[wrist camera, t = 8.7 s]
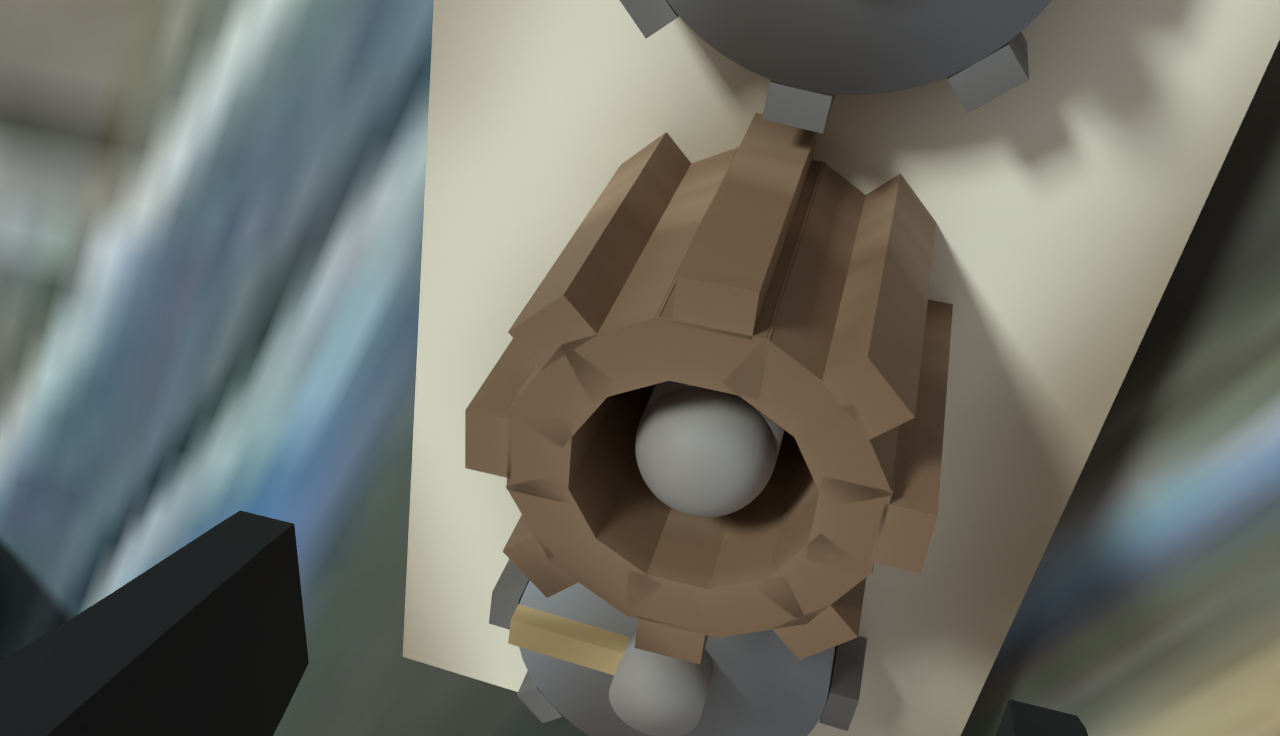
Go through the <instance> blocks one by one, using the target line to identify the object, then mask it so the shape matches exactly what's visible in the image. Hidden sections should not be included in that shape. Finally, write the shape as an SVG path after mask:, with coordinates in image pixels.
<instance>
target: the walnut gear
mask: <svg viewBox="0 0 1280 736" xmlns="http://www.w3.org/2000/svg"><path fill="white" fill-rule="evenodd" d="M762 116H763V114H760V113H755V115H754V117H753V119H752V121H751V123H750V125H749V127H748V130H747V132H746V134H745V136H744V138H743V140H742V142H741V144H740V146H739V147H737V148H735V149H732V150H729V151H726V152H723V153H720V154H717V155H714V156H711V157H708V158H705V159H703V160H700V161H697V162H694V163H691V162H690V161H689V160H688V158H687V157H686V156H685V155H684V153H683V152H682V151H681V150H680V148H679V147H678V146H677V145H676V143H675V142H674V141H673V139H672V138H671V137H670V136H669V134H668V133H667V132H665V133H664V134H663V135H661V136H660V137H658V138H657V139H656V140H654V141H653V142H652V143H650V144H649V145H647V146H646V147H645V148H643V149H642V150H640V151H639V152H638V153H636V154H635V155H633V156H632V157H631V158H629V159H628V160H626V161H625V162H624V163H622V164H621V165H620V167H619V168H618V170H617V171H616V173H615V174H614V176H613V177H612V178H611V180H610V181H609V183H608V184H607V186H606V187H605V189H604V190H603V192H602V193H601V195H600V196H599V198H598V199H597V201H596V202H595V204H594V205H593V207H592V208H591V210H590V211H589V213H588V214H587V215H586V217H585V218H584V220H583V221H582V223H581V224H580V226H579V227H578V229H577V230H576V232H575V233H574V235H573V236H572V238H571V239H570V241H569V242H568V244H567V245H566V247H565V248H564V250H563V251H562V253H561V254H560V255H559V257H558V258H557V260H556V261H555V263H554V264H553V266H552V267H551V269H550V270H549V272H548V273H547V275H546V276H545V278H544V279H543V281H542V282H541V284H540V285H539V287H538V288H537V290H536V291H535V293H534V294H533V295H532V297H531V298H530V300H529V301H528V303H527V304H526V306H525V307H524V309H523V310H522V312H521V313H520V315H519V316H518V318H517V319H516V321H515V322H514V324H513V325H512V327H511V328H510V330H509V331H508V333H509V334H510V335H511V336H512V337H513V339H512V341H511V342H510V344H509V345H508V347H507V348H506V350H505V351H504V353H503V354H502V356H501V357H500V359H499V360H498V362H497V363H496V365H495V366H494V368H493V369H492V371H491V372H490V374H489V375H488V377H487V378H486V380H485V381H484V383H483V384H482V386H481V387H480V389H479V390H478V392H477V393H476V395H475V396H474V398H473V399H472V401H471V402H470V404H469V405H468V407H467V408H466V410H465V468H467V469H471V470H475V471H480V472H484V473H488V474H493V475H497V476H501V477H506V478H507V485H506V490H508V491H509V493H510V495H511V497H512V498H513V500H514V502H515V503H516V505H517V507H518V508H519V510H520V512H521V514H522V515H521V517H520V519H519V521H518V523H517V525H516V526H515V528H514V530H513V532H512V534H511V536H510V538H509V540H508V542H507V544H506V546H505V547H504V549H503V551H502V552H503V553H504V554H505V555H506V556H507V557H508V558H509V559H510V560H511V561H512V562H513V563H514V564H515V565H516V566H517V567H518V568H519V569H520V570H521V571H522V572H523V573H524V575H525V576H526V577H527V578H528V579H529V580H530V581H531V582H532V583H533V584H534V585H535V586H536V587H537V588H538V589H539V590H540V591H541V592H542V593H543V594H544V595H545V597H546V598H548V597H550V596H552V595H554V594H556V593H558V592H560V591H562V590H564V589H566V588H568V587H570V586H573V585H575V584H577V583H580V584H582V585H583V586H584V587H586V588H587V589H589V590H590V591H592V592H593V593H594V594H596V595H597V596H599V597H600V598H601V599H603V600H604V601H606V602H607V603H609V604H610V605H611V606H613V607H614V608H616V609H617V610H618V611H620V612H621V613H623V614H624V615H625V616H629V617H633V618H638V622H637V631H636V640H635V648H637V649H641V650H645V651H649V652H653V653H657V654H661V655H665V656H669V657H673V658H677V659H681V660H685V661H689V662H693V663H697V664H701V660H702V657H703V653H704V650H705V646H706V643H707V639H708V636H711V637H715V638H722V637H728V636H734V635H740V634H747V633H753V632H759V631H766V630H773V631H774V632H775V633H776V634H777V636H778V637H779V638H780V639H781V640H782V641H783V642H784V643H785V645H786V646H787V647H788V648H789V649H790V650H791V651H792V652H793V654H794V655H795V656H796V657H797V658H798V659H799V660H801V659H804V658H807V657H809V656H812V655H814V654H817V653H819V652H822V651H824V650H827V649H829V648H832V647H834V646H837V645H840V644H842V643H845V642H847V641H850V640H852V639H855V638H857V637H858V633H859V626H860V619H861V612H862V605H863V598H864V591H865V584H866V577H867V576H868V575H870V574H872V572H873V568H874V563H878V564H883V565H887V566H891V567H896V568H900V569H904V570H909V571H913V572H917V573H921V571H922V568H923V564H924V561H925V557H926V554H927V550H928V547H929V544H930V540H931V537H932V533H933V530H934V526H935V523H936V519H937V516H938V503H939V490H940V476H941V462H942V448H943V435H944V421H945V407H946V394H947V380H948V366H949V352H950V339H951V325H952V311H953V304H948V303H943V302H938V301H933V300H928V294H929V284H930V275H931V266H932V257H933V248H934V239H935V229H936V221H935V220H934V219H933V217H932V216H931V214H930V213H929V212H928V210H927V209H926V208H925V206H924V205H923V203H922V202H921V201H920V199H919V198H918V197H917V195H916V194H915V192H914V191H913V190H912V188H911V187H910V186H909V184H908V183H907V181H906V180H905V179H904V177H903V176H902V175H901V173H900V174H899V175H897V176H896V177H894V178H892V179H891V180H889V181H887V182H886V183H884V184H883V185H881V186H879V187H878V188H876V189H874V190H873V191H871V192H870V193H868V194H866V195H865V194H864V193H862V192H861V191H860V190H859V189H857V188H856V187H855V186H854V185H852V184H851V183H850V182H849V181H847V180H846V179H845V178H844V177H842V176H841V175H840V174H838V173H837V172H836V171H835V170H833V169H832V168H831V167H830V166H828V165H827V164H826V162H823V161H822V162H821V161H815V160H813V154H814V148H815V143H816V137H817V132H814V131H809V130H805V129H801V128H797V127H793V126H788V125H784V124H780V123H776V122H771V121H767V120H763V119H762ZM666 381H673V382H678V383H683V384H688V385H692V386H697V387H702V388H706V389H711V390H716V391H721V392H725V393H730V394H735V395H739V396H740V397H741V398H743V399H744V400H745V401H747V402H748V403H749V404H751V405H752V406H754V407H755V408H756V409H758V410H759V411H760V412H762V413H763V414H764V415H766V416H767V417H768V418H770V419H771V420H772V421H774V422H775V423H776V424H778V425H779V426H780V427H782V428H783V429H784V434H783V438H782V442H781V445H780V449H779V453H778V457H777V460H776V464H775V467H774V470H773V473H772V475H771V478H770V479H769V481H768V483H767V485H766V486H765V488H764V489H763V490H762V492H761V493H760V494H759V495H758V496H757V497H756V498H755V499H754V500H753V501H752V502H751V503H749V504H748V505H746V506H745V507H743V508H741V509H739V510H737V511H735V512H733V513H730V514H727V515H723V516H719V517H710V518H704V517H694V516H690V515H686V514H683V513H680V512H678V511H676V510H674V509H672V508H670V507H669V506H667V505H666V504H664V503H663V502H661V501H660V500H659V499H658V498H657V497H656V496H655V495H654V494H653V493H652V491H651V490H650V489H649V487H648V486H647V485H646V483H645V481H644V479H643V478H642V475H641V473H640V470H639V467H638V464H637V459H636V452H635V442H636V432H637V429H638V425H639V422H640V419H641V417H642V415H643V412H644V410H645V408H646V406H647V403H648V401H649V399H650V397H651V394H652V392H653V390H654V387H655V385H656V384H658V383H662V382H666Z"/></svg>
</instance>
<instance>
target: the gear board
mask: <svg viewBox="0 0 1280 736" xmlns="http://www.w3.org/2000/svg"><path fill="white" fill-rule="evenodd" d="M1279 40H1280V0H434V11H433V32H432V53H431V74H430V95H429V116H428V137H427V158H426V179H425V200H424V221H423V242H422V263H421V284H420V305H419V326H418V347H417V368H416V389H415V410H414V431H413V452H412V473H411V494H410V515H409V536H408V557H407V578H406V599H405V620H404V641H403V657H406V658H409V659H412V660H416V661H419V662H422V663H425V664H429V665H432V666H435V667H438V668H442V669H445V670H448V671H451V672H455V673H458V674H461V675H464V676H468V677H471V678H474V679H477V680H481V681H484V682H487V683H490V684H494V685H497V686H500V687H504V688H507V689H510V690H513V691H517V692H518V693H517V696H518V697H519V698H520V699H521V700H522V701H523V702H524V703H525V705H526V706H527V707H528V708H529V709H530V710H531V711H532V712H533V713H534V714H535V716H536V717H537V718H538V719H539V720H540V721H541V722H542V723H545V722H548V721H551V720H554V719H557V718H560V717H562V716H564V717H565V718H566V719H567V720H569V721H570V722H571V723H572V724H573V725H575V726H576V727H577V728H579V729H580V730H582V731H583V732H585V733H586V734H588V735H589V736H961V734H962V731H963V729H964V727H965V725H966V723H967V720H968V718H969V716H970V714H971V712H972V710H973V707H974V705H975V703H976V701H977V699H978V696H979V694H980V692H981V690H982V688H983V686H984V683H985V681H986V679H987V677H988V675H989V673H990V670H991V668H992V666H993V664H994V662H995V659H996V657H997V655H998V653H999V651H1000V649H1001V646H1002V644H1003V642H1004V640H1005V638H1006V635H1007V633H1008V631H1009V629H1010V627H1011V625H1012V622H1013V620H1014V618H1015V616H1016V614H1017V611H1018V609H1019V607H1020V605H1021V603H1022V601H1023V598H1024V596H1025V594H1026V592H1027V590H1028V587H1029V585H1030V583H1031V581H1032V579H1033V577H1034V574H1035V572H1036V570H1037V568H1038V566H1039V563H1040V561H1041V559H1042V557H1043V555H1044V553H1045V550H1046V548H1047V546H1048V544H1049V542H1050V539H1051V537H1052V535H1053V533H1054V531H1055V529H1056V526H1057V524H1058V522H1059V520H1060V518H1061V515H1062V513H1063V511H1064V509H1065V507H1066V505H1067V502H1068V500H1069V498H1070V496H1071V494H1072V491H1073V489H1074V487H1075V485H1076V483H1077V481H1078V478H1079V476H1080V474H1081V472H1082V470H1083V467H1084V465H1085V463H1086V461H1087V459H1088V457H1089V454H1090V452H1091V450H1092V448H1093V446H1094V443H1095V441H1096V439H1097V437H1098V435H1099V433H1100V430H1101V428H1102V426H1103V424H1104V422H1105V419H1106V417H1107V415H1108V413H1109V411H1110V409H1111V406H1112V404H1113V402H1114V400H1115V398H1116V395H1117V393H1118V391H1119V389H1120V387H1121V385H1122V382H1123V380H1124V378H1125V376H1126V374H1127V371H1128V369H1129V367H1130V365H1131V363H1132V361H1133V358H1134V356H1135V354H1136V352H1137V350H1138V347H1139V345H1140V343H1141V341H1142V339H1143V337H1144V334H1145V332H1146V330H1147V328H1148V326H1149V323H1150V321H1151V319H1152V317H1153V315H1154V313H1155V310H1156V308H1157V306H1158V304H1159V302H1160V299H1161V297H1162V295H1163V293H1164V291H1165V289H1166V286H1167V284H1168V282H1169V280H1170V278H1171V275H1172V273H1173V271H1174V269H1175V267H1176V265H1177V262H1178V260H1179V258H1180V256H1181V254H1182V252H1183V249H1184V247H1185V245H1186V243H1187V241H1188V238H1189V236H1190V234H1191V232H1192V230H1193V228H1194V225H1195V223H1196V221H1197V219H1198V217H1199V214H1200V212H1201V210H1202V208H1203V206H1204V204H1205V201H1206V199H1207V197H1208V195H1209V193H1210V190H1211V188H1212V186H1213V184H1214V182H1215V180H1216V177H1217V175H1218V173H1219V171H1220V169H1221V166H1222V164H1223V162H1224V160H1225V158H1226V156H1227V153H1228V151H1229V149H1230V147H1231V145H1232V142H1233V140H1234V138H1235V136H1236V134H1237V132H1238V129H1239V127H1240V125H1241V123H1242V121H1243V118H1244V116H1245V114H1246V112H1247V110H1248V108H1249V105H1250V103H1251V101H1252V99H1253V97H1254V94H1255V92H1256V90H1257V88H1258V86H1259V84H1260V81H1261V79H1262V77H1263V75H1264V73H1265V70H1266V68H1267V66H1268V64H1269V62H1270V60H1271V57H1272V55H1273V53H1274V51H1275V49H1276V46H1277V44H1278V42H1279ZM755 113H760V114H763V116H762V119H763V120H767V121H771V122H776V123H780V124H784V125H788V126H793V127H797V128H801V129H805V130H809V131H814V132H817V137H816V143H815V148H814V154H813V160H815V161H821V162H822V161H823V162H826V164H827V165H828V166H830V167H831V168H832V169H833V170H835V171H836V172H837V173H838V174H840V175H841V176H842V177H844V178H845V179H846V180H847V181H849V182H850V183H851V184H852V185H854V186H855V187H856V188H857V189H859V190H860V191H861V192H862V193H864V194H865V195H866V194H868V193H870V192H871V191H873V190H874V189H876V188H878V187H879V186H881V185H883V184H884V183H886V182H887V181H889V180H891V179H892V178H894V177H896V176H897V175H899V174H900V173H901V175H902V176H903V177H904V179H905V180H906V181H907V183H908V184H909V186H910V187H911V188H912V190H913V191H914V192H915V194H916V195H917V197H918V198H919V199H920V201H921V202H922V203H923V205H924V206H925V208H926V209H927V210H928V212H929V213H930V214H931V216H932V217H933V219H934V220H935V221H936V229H935V239H934V248H933V257H932V266H931V275H930V284H929V294H928V300H933V301H938V302H943V303H948V304H953V311H952V325H951V339H950V352H949V366H948V380H947V394H946V407H945V421H944V435H943V448H942V462H941V476H940V490H939V503H938V516H937V519H936V523H935V526H934V530H933V533H932V537H931V540H930V544H929V547H928V550H927V554H926V557H925V561H924V564H923V568H922V571H921V573H917V572H913V571H909V570H904V569H900V568H896V567H891V566H887V565H883V564H878V563H874V568H873V572H872V574H870V575H868V576H867V577H866V584H865V591H864V598H863V605H862V612H861V619H860V626H859V633H858V637H857V638H855V639H852V640H850V641H847V642H845V643H842V644H840V645H837V646H834V647H832V648H829V649H827V650H824V651H822V652H819V653H817V654H814V655H812V656H809V657H807V658H804V659H801V660H799V659H798V658H797V657H796V656H795V655H794V654H793V652H792V651H791V650H790V649H789V648H788V647H787V646H786V645H785V643H784V642H783V641H782V640H781V639H780V638H779V637H778V636H777V634H776V633H775V632H774V631H773V630H766V631H759V632H753V633H747V634H740V635H734V636H728V637H722V638H715V637H711V636H708V639H707V643H706V646H705V650H704V653H703V657H702V660H701V664H697V663H693V662H689V661H685V660H681V659H677V658H673V657H669V656H665V655H661V654H657V653H653V652H649V651H645V650H641V649H637V648H635V640H636V631H637V622H638V618H633V617H629V616H625V615H624V614H623V613H621V612H620V611H618V610H617V609H616V608H614V607H613V606H611V605H610V604H609V603H607V602H606V601H604V600H603V599H601V598H600V597H599V596H597V595H596V594H594V593H593V592H592V591H590V590H589V589H587V588H586V587H584V586H583V585H582V584H580V583H577V584H575V585H573V586H570V587H568V588H566V589H564V590H562V591H560V592H558V593H556V594H554V595H552V596H550V597H548V598H546V597H545V595H544V594H543V593H542V592H541V591H540V590H539V589H538V588H537V587H536V586H535V585H534V584H533V583H532V582H531V581H530V580H529V579H528V578H527V577H526V576H525V575H524V573H523V572H522V571H521V570H520V569H519V568H518V567H517V566H516V565H515V564H514V563H513V562H512V561H511V560H510V559H509V558H508V557H507V556H506V555H505V554H504V553H503V552H502V551H503V549H504V547H505V546H506V544H507V542H508V540H509V538H510V536H511V534H512V532H513V530H514V528H515V526H516V525H517V523H518V521H519V519H520V517H521V515H522V514H521V512H520V510H519V508H518V507H517V505H516V503H515V502H514V500H513V498H512V497H511V495H510V493H509V491H508V490H506V485H507V478H506V477H501V476H497V475H493V474H488V473H484V472H480V471H475V470H471V469H467V468H465V410H466V408H467V407H468V405H469V404H470V402H471V401H472V399H473V398H474V396H475V395H476V393H477V392H478V390H479V389H480V387H481V386H482V384H483V383H484V381H485V380H486V378H487V377H488V375H489V374H490V372H491V371H492V369H493V368H494V366H495V365H496V363H497V362H498V360H499V359H500V357H501V356H502V354H503V353H504V351H505V350H506V348H507V347H508V345H509V344H510V342H511V341H512V339H513V337H512V336H511V335H510V334H509V333H508V331H509V330H510V328H511V327H512V325H513V324H514V322H515V321H516V319H517V318H518V316H519V315H520V313H521V312H522V310H523V309H524V307H525V306H526V304H527V303H528V301H529V300H530V298H531V297H532V295H533V294H534V293H535V291H536V290H537V288H538V287H539V285H540V284H541V282H542V281H543V279H544V278H545V276H546V275H547V273H548V272H549V270H550V269H551V267H552V266H553V264H554V263H555V261H556V260H557V258H558V257H559V255H560V254H561V253H562V251H563V250H564V248H565V247H566V245H567V244H568V242H569V241H570V239H571V238H572V236H573V235H574V233H575V232H576V230H577V229H578V227H579V226H580V224H581V223H582V221H583V220H584V218H585V217H586V215H587V214H588V213H589V211H590V210H591V208H592V207H593V205H594V204H595V202H596V201H597V199H598V198H599V196H600V195H601V193H602V192H603V190H604V189H605V187H606V186H607V184H608V183H609V181H610V180H611V178H612V177H613V176H614V174H615V173H616V171H617V170H618V168H619V167H620V165H621V164H622V163H624V162H625V161H626V160H628V159H629V158H631V157H632V156H633V155H635V154H636V153H638V152H639V151H640V150H642V149H643V148H645V147H646V146H647V145H649V144H650V143H652V142H653V141H654V140H656V139H657V138H658V137H660V136H661V135H663V134H664V133H665V132H667V133H668V134H669V136H670V137H671V138H672V139H673V141H674V142H675V143H676V145H677V146H678V147H679V148H680V150H681V151H682V152H683V153H684V155H685V156H686V157H687V158H688V160H689V161H690V162H691V163H694V162H697V161H700V160H703V159H705V158H708V157H711V156H714V155H717V154H720V153H723V152H726V151H729V150H732V149H735V148H737V147H739V146H740V144H741V142H742V140H743V138H744V136H745V134H746V132H747V130H748V127H749V125H750V123H751V121H752V119H753V117H754V115H755ZM783 434H784V429H783V428H782V427H780V426H779V425H778V424H776V423H775V422H774V421H772V420H771V419H770V418H768V417H767V416H766V415H764V414H763V413H762V412H760V411H759V410H758V409H756V408H755V407H754V406H752V405H751V404H749V403H748V402H747V401H745V400H744V399H743V398H741V397H740V396H739V395H735V394H730V393H725V392H721V391H716V390H711V389H706V388H702V387H697V386H692V385H688V384H683V383H678V382H673V381H666V382H662V383H658V384H656V385H655V387H654V390H653V392H652V394H651V397H650V399H649V401H648V403H647V406H646V408H645V410H644V412H643V415H642V417H641V419H640V422H639V425H638V429H637V432H636V442H635V452H636V459H637V464H638V467H639V470H640V473H641V475H642V478H643V479H644V481H645V483H646V485H647V486H648V487H649V489H650V490H651V491H652V493H653V494H654V495H655V496H656V497H657V498H658V499H659V500H660V501H661V502H663V503H664V504H666V505H667V506H669V507H670V508H672V509H674V510H676V511H678V512H680V513H683V514H686V515H690V516H694V517H704V518H710V517H719V516H723V515H727V514H730V513H733V512H735V511H737V510H739V509H741V508H743V507H745V506H746V505H748V504H749V503H751V502H752V501H753V500H754V499H755V498H756V497H757V496H758V495H759V494H760V493H761V492H762V490H763V489H764V488H765V486H766V485H767V483H768V481H769V479H770V478H771V475H772V473H773V470H774V467H775V464H776V460H777V457H778V453H779V449H780V445H781V442H782V438H783Z"/></svg>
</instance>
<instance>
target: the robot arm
mask: <svg viewBox="0 0 1280 736" xmlns="http://www.w3.org/2000/svg"><path fill="white" fill-rule="evenodd" d="M308 663H309V662H308V653H307V643H306V633H305V624H304V614H303V604H302V595H301V585H300V576H299V566H298V556H297V547H296V537H295V527H294V524H293V523H288V522H284V521H280V520H276V519H272V518H268V517H264V516H260V515H256V514H252V513H248V512H244V511H239V512H237V513H236V514H234V515H232V516H231V517H229V518H228V519H226V520H224V521H223V522H221V523H220V524H218V525H217V526H215V527H213V528H212V529H210V530H209V531H207V532H206V533H204V534H203V535H201V536H199V537H198V538H196V539H195V540H193V541H192V542H190V543H189V544H187V545H186V546H184V547H182V548H181V549H179V550H178V551H176V552H175V553H173V554H172V555H170V556H169V557H167V558H166V559H164V560H162V561H161V562H159V563H158V564H156V565H155V566H153V567H152V568H150V569H149V570H147V571H146V572H144V573H143V574H141V575H139V576H138V577H136V578H135V579H133V580H132V581H130V582H129V583H127V584H126V585H124V586H122V587H121V588H119V589H118V590H116V591H115V592H113V593H112V594H110V595H109V596H107V597H105V598H104V599H102V600H101V601H99V602H97V603H96V604H94V605H93V606H91V607H89V608H88V609H86V610H85V611H83V612H81V613H80V614H78V615H77V616H75V617H73V618H72V619H70V620H69V621H67V622H65V623H64V624H62V625H61V626H59V627H57V628H56V629H54V630H53V631H51V632H49V633H48V634H46V635H45V636H43V637H41V638H40V639H38V640H36V641H35V642H33V643H31V644H29V645H28V646H26V647H24V648H23V649H21V650H19V651H17V652H16V653H14V654H12V655H10V656H9V657H7V658H5V659H3V660H2V661H0V736H273V734H274V732H275V730H276V728H277V726H278V724H279V723H280V721H281V719H282V717H283V715H284V713H285V711H286V709H287V707H288V705H289V703H290V701H291V698H292V696H293V694H294V692H295V690H296V688H297V686H298V684H299V682H300V680H301V678H302V676H303V674H304V671H305V669H306V667H307V665H308ZM996 736H1088V734H1087V731H1086V728H1085V726H1084V725H1083V724H1082V722H1081V721H1080V719H1079V718H1078V717H1077V716H1075V715H1071V714H1067V713H1063V712H1059V711H1055V710H1051V709H1047V708H1043V707H1038V706H1034V705H1030V704H1026V703H1022V702H1018V701H1014V700H1010V699H1009V702H1008V704H1007V707H1006V710H1005V713H1004V715H1003V718H1002V721H1001V723H1000V726H999V729H998V731H997V734H996Z"/></svg>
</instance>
